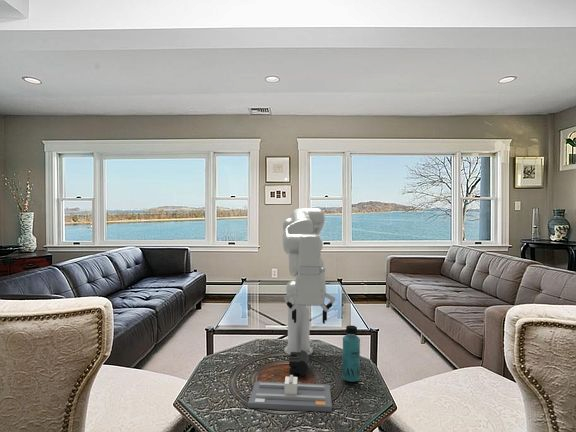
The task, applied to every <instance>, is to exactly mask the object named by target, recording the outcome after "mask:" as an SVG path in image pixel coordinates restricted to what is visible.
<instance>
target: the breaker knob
mask: <svg viewBox="0 0 576 432" xmlns="http://www.w3.org/2000/svg"><path fill="white" fill-rule="evenodd" d="M284 383H285V384H284V394H285V395H297V383H298V377H293V375H290V377H289V375H288V376H285V379H284Z"/></svg>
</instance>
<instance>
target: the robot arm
mask: <svg viewBox="0 0 576 432" xmlns="http://www.w3.org/2000/svg"><path fill="white" fill-rule="evenodd" d="M325 217H326V216H325V213H324V212H323V210H322V209H321V208H319V207H298V208H296V209H293V211H291V213H290V217H288V218H286V219H284V220H283V223H282V230H283V233H282V248H283V250H284V252H285V254H287V255H288V268H289V269H288V270H289V275H290V276H291V277H295V279H292V280H289V281H288V283H286V287H285V291H286V292H285V293H286V295H284V297H283V300H284V302H285V304H286V306H287V345H286V346H285V347H284V348H283V349H284V350H283V351H284V353H285V354H286V355H288V356H290V353H291V352H301V350H304V351H305V352H307V354H308V356H311V355H312V353H313V352H314V349H313V347H312V346H310V325H311V324H310V322H311V321H310V320H311V319H310V318H311V316H310V315H311V313H310V310H309V308H308V306H309V307H310V306H314V307H315V306H317V307H321V308H322V324H326V322H327V321H328V320H327V319H328V311H329V310H330V309H331V308H332V307H333V305H334V303H335V301H336V298H335V296H333V295H331V294H329V293H327V288H326V287H327V286H326V284H327V283H326V274H325V273H326V268H325V263H324V261H323V258H322V257H321V253H322V250H323V247H324V246H323V239H322V238H321V236H320V234H321V231H322V230H323V228H324V225H325V221H326V220H325ZM326 299H328V300H329V301H328V303H327V304H325V300H326ZM294 358H296V356H294Z"/></svg>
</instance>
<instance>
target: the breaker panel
mask: <svg viewBox="0 0 576 432" xmlns="http://www.w3.org/2000/svg"><path fill="white" fill-rule="evenodd" d="M284 384H285V382H281V381H280V382H279V381H278V382H277V381H275V382H274V381H255V382H254V384H253V388H252V390H251V393H250V396H249V399H248V401H247V408H248V409H269V410H270V409H271V410H287V411H288V410H289V411H291V410H292V411H306V412H307V411H312V412H331V413H332V412H333V403H332V402H333V401H332V396H331V395H332V394H331V386H330V385H331V384H326V383H323V384H322V383H302V382H301V383H300V382H297V395H285V394H284Z"/></svg>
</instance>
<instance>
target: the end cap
mask: <svg viewBox="0 0 576 432" xmlns="http://www.w3.org/2000/svg"><path fill="white" fill-rule="evenodd" d="M289 356H290V357H289V360H288V366H289V367H290V368H289V369H288V373H289V374H288V377H290V375H293V377H301V378H302V377H305V375H306V374H308V372H309V359H310V355H308V354H307V352H305V351H304V350H301V352H291V353H290V355H289ZM295 356H296V357H295Z"/></svg>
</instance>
